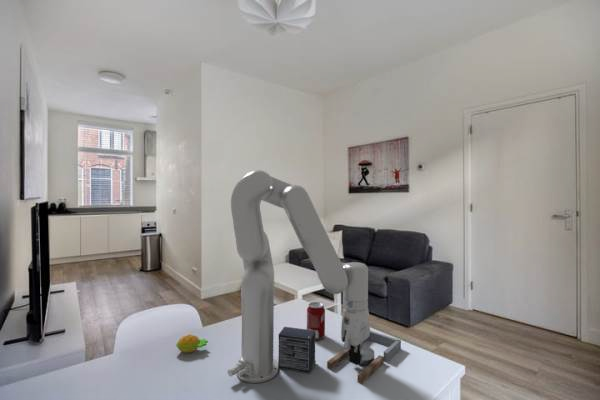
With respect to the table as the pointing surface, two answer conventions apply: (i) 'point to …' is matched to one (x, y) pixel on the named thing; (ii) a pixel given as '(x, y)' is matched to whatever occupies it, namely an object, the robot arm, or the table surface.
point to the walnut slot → (364, 373)
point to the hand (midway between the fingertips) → (354, 362)
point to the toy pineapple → (190, 343)
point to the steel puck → (366, 356)
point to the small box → (297, 349)
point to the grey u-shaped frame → (392, 344)
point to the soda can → (316, 319)
